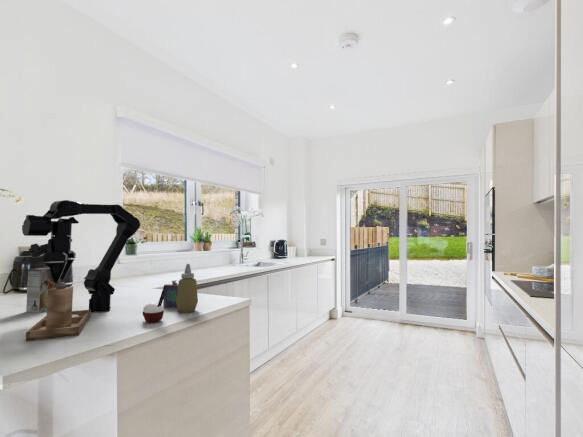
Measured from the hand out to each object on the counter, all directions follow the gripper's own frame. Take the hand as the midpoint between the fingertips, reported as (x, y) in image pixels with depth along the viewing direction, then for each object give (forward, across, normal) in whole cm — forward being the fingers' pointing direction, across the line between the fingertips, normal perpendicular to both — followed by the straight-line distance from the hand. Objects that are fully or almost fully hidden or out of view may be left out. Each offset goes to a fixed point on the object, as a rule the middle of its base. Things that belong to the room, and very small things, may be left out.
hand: (59, 280), depth 108 cm
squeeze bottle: (+13, +7, +42) cm, 45 cm away
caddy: (+13, +13, +4) cm, 19 cm away
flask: (+13, -3, +38) cm, 40 cm away
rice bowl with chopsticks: (+13, +18, +30) cm, 37 cm away
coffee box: (+13, -19, -8) cm, 24 cm away
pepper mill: (+12, +18, +4) cm, 22 cm away
